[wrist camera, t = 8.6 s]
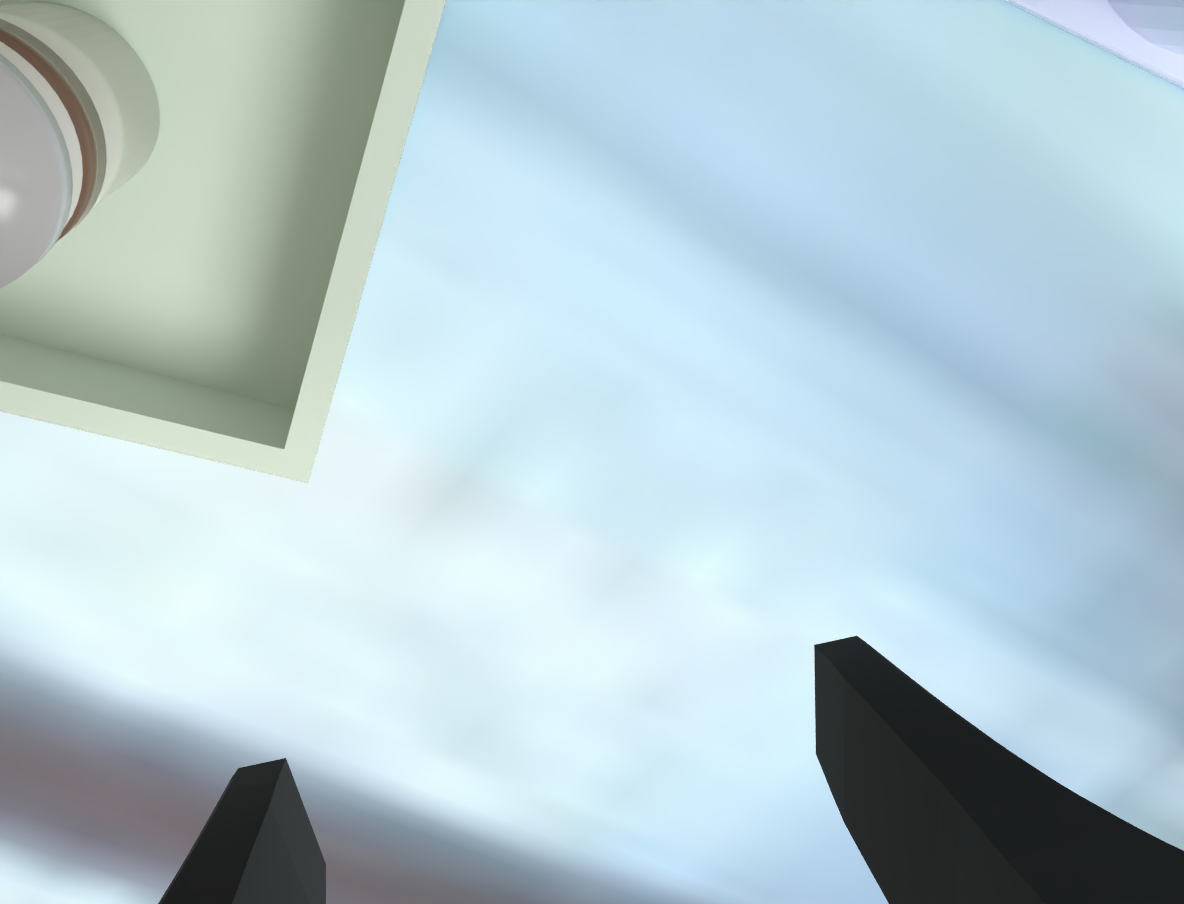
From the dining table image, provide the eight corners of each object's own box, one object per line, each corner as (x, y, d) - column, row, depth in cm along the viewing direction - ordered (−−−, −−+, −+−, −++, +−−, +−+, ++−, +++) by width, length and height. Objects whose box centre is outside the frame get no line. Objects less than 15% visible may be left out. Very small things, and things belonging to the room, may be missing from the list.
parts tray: (456, -61, 17) (464, -63, 15) (318, 429, 21) (308, 482, 19) (-287, -376, 14) (-416, -439, 12) (-291, 275, 18) (-390, 320, 15)
